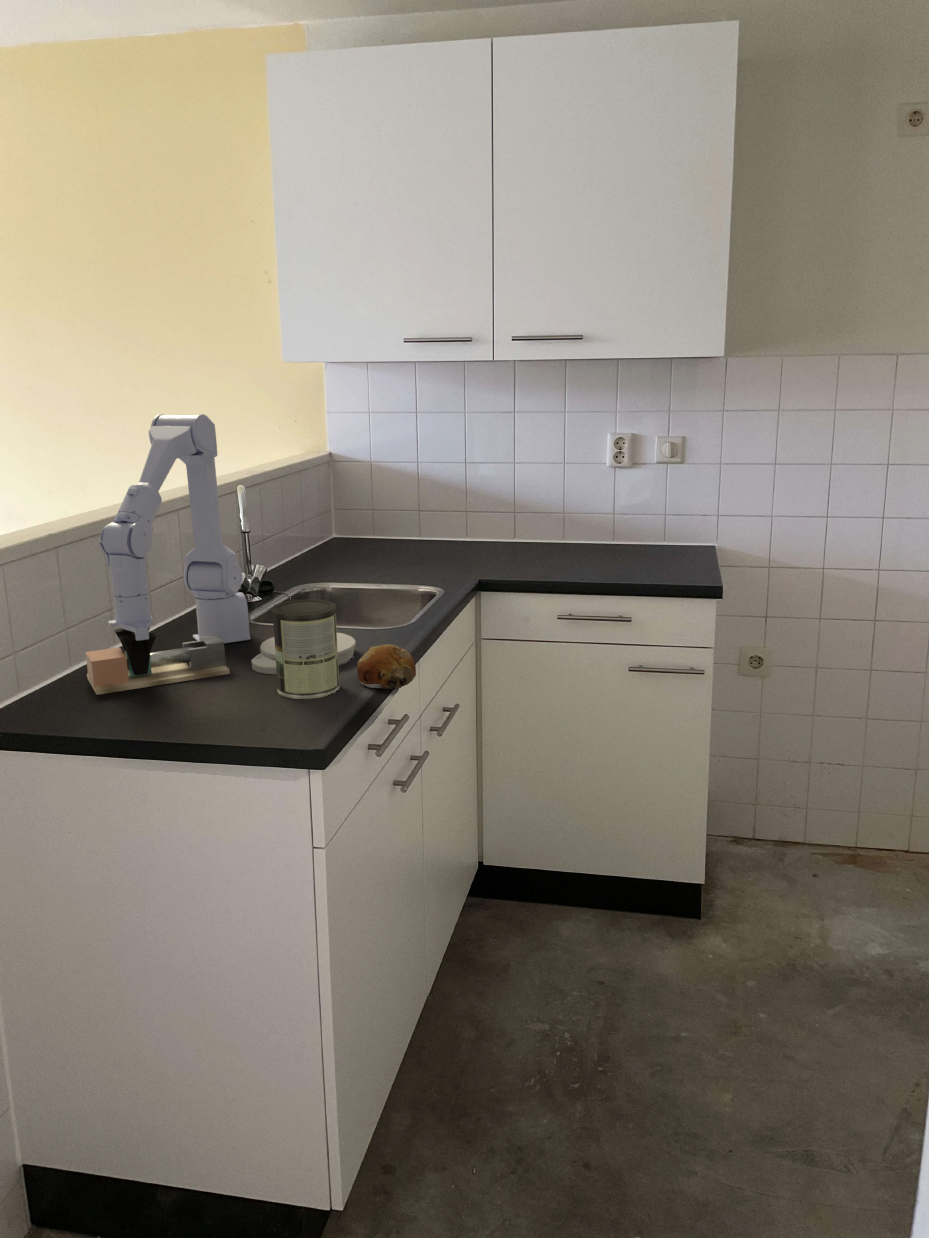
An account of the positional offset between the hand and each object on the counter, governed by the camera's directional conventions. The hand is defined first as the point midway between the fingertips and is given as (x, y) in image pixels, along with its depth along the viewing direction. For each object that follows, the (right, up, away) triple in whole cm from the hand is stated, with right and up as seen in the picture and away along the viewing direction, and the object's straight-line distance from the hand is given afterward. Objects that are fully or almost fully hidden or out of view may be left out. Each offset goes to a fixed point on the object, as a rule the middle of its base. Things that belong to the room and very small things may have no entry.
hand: (138, 671), depth 168 cm
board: (+3, -1, +2) cm, 3 cm away
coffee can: (+30, -3, -6) cm, 31 cm away
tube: (+2, 0, +1) cm, 2 cm away
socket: (-4, -2, -2) cm, 5 cm away
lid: (+26, +1, +11) cm, 28 cm away
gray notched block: (+10, 0, +5) cm, 11 cm away
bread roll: (+42, -2, -2) cm, 43 cm away
